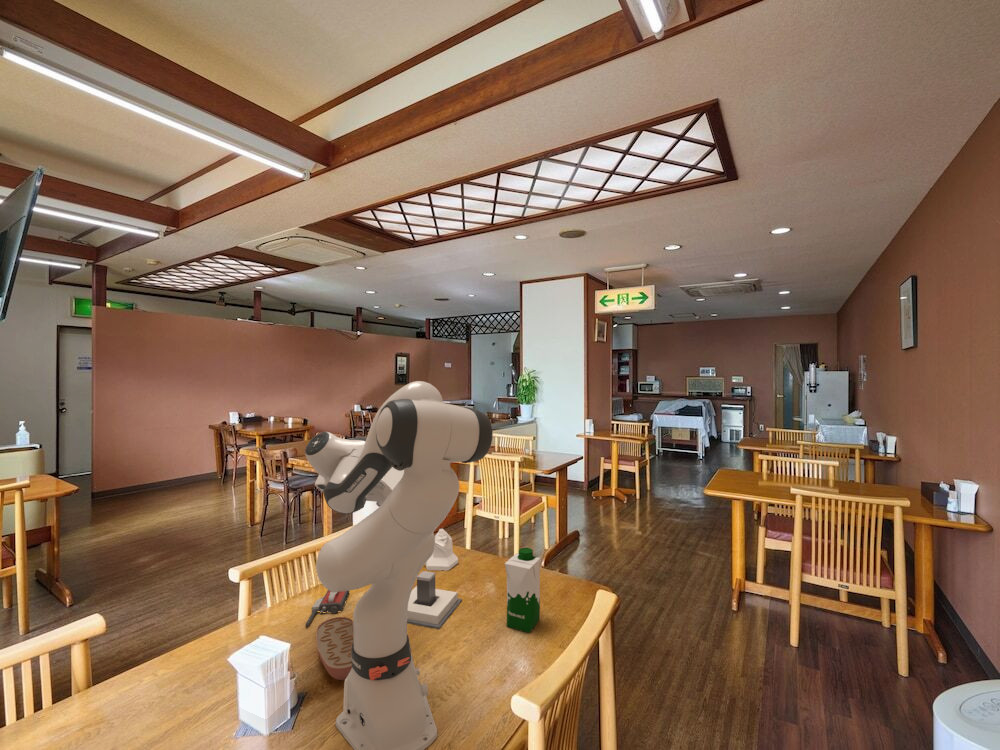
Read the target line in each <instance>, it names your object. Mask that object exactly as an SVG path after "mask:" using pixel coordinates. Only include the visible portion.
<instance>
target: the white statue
mask: <svg viewBox="0 0 1000 750" xmlns="http://www.w3.org/2000/svg"><path fill="white" fill-rule="evenodd" d="M434 536H435V547H434V551H433V554H432V556H431V557H430V558H429V559H428V561H427V562H426V563H425V564H424V566H425V567H426V570H427V571H442V570H444V571H447V572H448V571H450V570H451V569H452V568H453V567H455V566H456V565H458V564H459V558H458V556H457V555H456V554H455V553H454V551H453V550H454V549H453V539H452V537H451V535H450V534H448V532H447V531H445V529H444V528H439V530H438V531H437V533H436V534H435V535H434Z"/></svg>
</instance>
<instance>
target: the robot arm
mask: <svg viewBox="0 0 1000 750" xmlns="http://www.w3.org/2000/svg"><path fill="white" fill-rule="evenodd" d="M493 435H494V432H493V427H492V423H491V421H490V419H489V417H488V416H487V415H486V414H485V413H484V412H481V411H480V410H478V409H475V408H472V407H470V406H463V405H455V404H450V403H445V402H444V399H443V396H442V394H441V392H440V391H439V389H437V387H435V386H434V385H433V384H431V383H430V382H426V381H422V380H416V381H411V382H409V383H407V384H406V385H405V384H404V386H402V387H400V388H399V389H398V390H397V391H395V392H393V394H391V395H390V396H389V397H388V398H387V399H386V400H385V401H384V402H383V404H382V405H381V406H380V407H379V408H378V410H377V412H376V414H375V415H374V417H373V420H372V423H371V426H370V428H369V431H368V434H367V437H365V436H357V437H351V438H347V439H345V438H343V437H342V438H341V437H339V436H336V435H335V434H333V433H332V432H330V431H329V432H328V431H322V432H319V433H317V434H316V435H314V436H313V437H312V438H311V439H310V440H309V442H308V443H307V445H306V446H305V449H304V454H305V458H306V460H307V462H308V463H309V465H310V466H311V467H312V468H313V470H315V472H316V473H317V475H318V476H317V478H316V479H315V481H314V482H315V483H314V486H315V487H316V488H317V489H319V490H320V492H322V493H323V494H322V495H323V498H324V501H325V502H326V504H327V506H328V508H329V509H331V510H333V511H334V512H337V513H339V514H344V515H348V514H353V513H357V512H358V511H360V510H362V509H363V508H364V507H365V504H367V503H366V502H376V503H375V505H376V506H377V507H378V508H377V509H375V510H374V511H373V512H372V513H370V514H369V515H367V516H366V517H365V518H363V519H362V520H360V521H359V522H358V523H357V524H355V525H353V526H352V527H351V528H350V529H348V530H346V531H345V532H344V533H341V534H340V535H338V536H337V537H335V538H333V539H331V540H329V541H327V542H326V543H324V544H323V545H322V547H321V548H320V550H319V552H318V555H317V558H316V566H315V567H316V568H315V570H316V573H317V575H316V576H317V577H318V580H319V581H320V583H321V584H322V587H324V588H325V589H327V591H328V590H329V591H331V592H342V591H349V592H350V591H354V590H359V589H362V588H364V587H366V586H369V585H370V587H369V588H368V590H367V591H366V592H364V594H363V595H362V596H361V597H360V598H358V599H359V600H358V601H357V603H356V604H355V607H354V610H353V614H352V621H353V644H352V651H351V664H352V669H351V671H350V673H349V674H348V676H347V677H346V679H345V680H344V683H343V687H344V688H343V706H342V707H343V710H342V711H341V712H340V714H339V715H338V716H337V718H336V719H335V727H336V728H337V730H338V731H339V732H340V734H341V735H342V736H343V738H344V739H345V740H346V741H347V743H349V746H351V748H352V749H353V750H426V749H427V748H428V747H429V746H430V745H432V743H433V742H434V741H435V740H436V739H437V737H438V728H437V725H436V723H435V719H434V717H433V714H432V710H431V706H430V704H429V701H428V695H429V689H428V684H427V683H426V682H424V683H420V681H419V678H418V676H420V674H421V673H420V672H421V671H420V667H415V663H414V659H413V658H414V656H413V655H412V649H411V648H412V647H411V642H410V638H409V635H408V623H407V613H408V602H409V597H410V594H411V591H412V590H413V589H414V585H415V582H416V581H417V576H418V575H419V574H420V573H421V570H422V569H423V568H424V566H425V563H426V562H427V561H428V559H429V558H430V557H431V556H432V554H433V551H434V547H435V536H436V535H435V533H434V532H435V531H436V530H437V529H438V527H439V526H440V525H441V524H442V523H443V522H444V520H445V519H446V517H448V515H449V513H450V512H451V510H452V508H453V506H454V504H455V502H456V500H457V498H458V495H459V493H460V481H459V478H458V475H457V474H456V472H455V470H454V469H453V468H452V467H451V463H452V464H453V463H462V464H469V463H474V462H478V461H481V460H482V459H484V458H485V457H486V456H487V454H488V453H489V451H490V448H491V446H492V442H493V437H494V436H493ZM391 469H395V470H397V471H400V472H401V471H403V475H402V477H401V478H400V480H399V481H398V482H397V484H396V485H395V486H394V488H393V489H392V488H391V487H390V486H389V485H388V484H387V483H386V481H384V480H383V478H384V477H385V476H386V474H387V473H388V472H389V471H390V470H391Z"/></svg>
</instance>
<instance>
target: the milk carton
mask: <svg viewBox="0 0 1000 750" xmlns="http://www.w3.org/2000/svg"><path fill="white" fill-rule="evenodd" d="M504 567H505V571H506V627H507V628H511V629H514V630H517V631H521V632H524V633H528V634H530V633H531V631H533V629H534V628H535V627H536V625H537V624H538V623H539V621H540V613H541V612H540V611H541V601H540V600H541V599H540V598H541V596H540V595H541V592H540V591H541V590H540V589H541V588H540V587H541V586H540V585H541V582H540V581H541V580H540V578H541V577H540V576H541V574H540V573H541V558H540V557H537V556H534V552H533V549H532V548H531V547H521V548H520V549H519V550H518V553H515V554H514V555H513V556H511V557H510V558H509V559H507V561H506V562H504Z"/></svg>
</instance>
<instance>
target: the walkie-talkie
mask: <svg viewBox="0 0 1000 750" xmlns="http://www.w3.org/2000/svg"><path fill="white" fill-rule="evenodd" d="M348 595H349V596H350V590H349V591H342V592H331V591H329V590H328V589H327V590H326V592H325V594H324V596H322V597H320V598H318V599H316V601H315V602H314V604H313V605H312V606H311V614H310V616H309V617H308V619H307V621H306V622H305V626H306V627H309V626H310V624H311V622H312V621H313V619H314V617H315V616H316V614H318V613H317V611H320V612H321V613H323V612H327V611H328V612H331V613H330V614H333V613H334V614H337V613H336V612H337V611H342V612H343V610H342V609H344V608H343V606H344V607H345V606H346V603H345V601H346V600H348V599H347V598H349V596H348ZM346 602H347V601H346ZM323 614H324V613H323Z"/></svg>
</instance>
